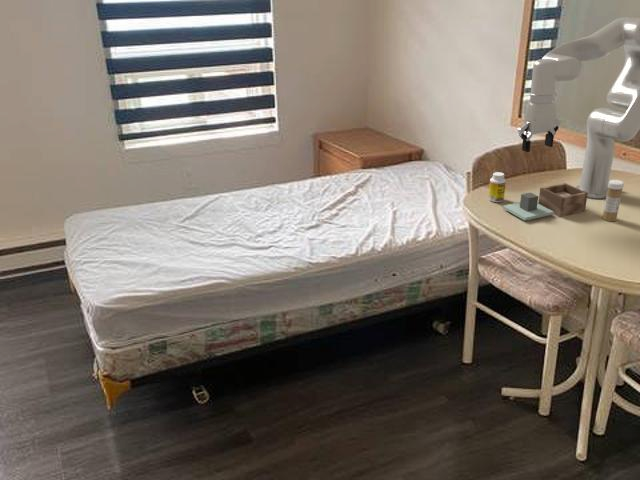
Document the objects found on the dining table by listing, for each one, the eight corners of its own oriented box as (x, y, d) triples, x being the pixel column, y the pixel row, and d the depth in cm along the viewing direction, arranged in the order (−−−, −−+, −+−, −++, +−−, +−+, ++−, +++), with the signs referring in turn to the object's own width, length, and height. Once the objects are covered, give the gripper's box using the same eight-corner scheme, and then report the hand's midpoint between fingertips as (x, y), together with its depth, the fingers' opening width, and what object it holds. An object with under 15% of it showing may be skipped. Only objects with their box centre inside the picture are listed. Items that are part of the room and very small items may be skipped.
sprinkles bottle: (608, 215, 202) (615, 178, 197) (619, 220, 199) (627, 182, 193) (598, 218, 201) (605, 180, 195) (610, 222, 197) (617, 185, 191)
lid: (530, 205, 214) (532, 187, 211) (553, 217, 204) (555, 198, 201) (502, 210, 210) (504, 192, 207) (524, 223, 200) (527, 204, 197)
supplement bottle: (496, 204, 215) (499, 177, 211) (485, 199, 219) (487, 173, 215) (507, 200, 218) (509, 174, 213) (495, 196, 222) (497, 170, 218)
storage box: (562, 201, 215) (565, 183, 212) (584, 211, 206) (587, 192, 203) (537, 206, 212) (540, 187, 209) (559, 217, 203) (562, 198, 200)
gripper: (554, 92, 199) (549, 141, 207) (513, 100, 194) (509, 150, 201) (571, 96, 193) (565, 146, 201) (528, 104, 188) (524, 156, 195)
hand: (537, 148), depth 201 cm, fingers open, 9 cm apart
